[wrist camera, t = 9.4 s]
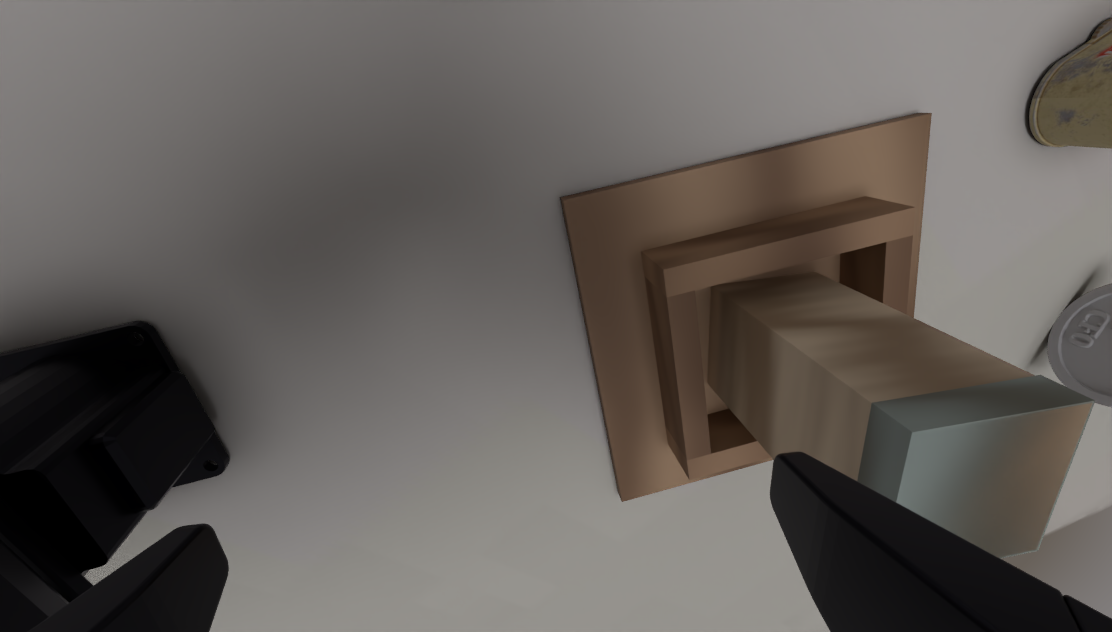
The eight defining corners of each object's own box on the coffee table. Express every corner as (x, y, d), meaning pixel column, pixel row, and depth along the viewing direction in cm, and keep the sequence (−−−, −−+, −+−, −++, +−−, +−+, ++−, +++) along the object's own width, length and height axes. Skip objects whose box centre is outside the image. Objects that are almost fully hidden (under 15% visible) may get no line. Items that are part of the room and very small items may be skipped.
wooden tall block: (705, 384, 22) (877, 584, 13) (709, 284, 20) (912, 432, 11) (804, 368, 22) (1037, 550, 13) (816, 270, 21) (1095, 400, 11)
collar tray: (618, 492, 24) (637, 542, 21) (560, 197, 19) (576, 213, 16) (894, 416, 25) (947, 454, 22) (918, 113, 19) (992, 113, 17)
